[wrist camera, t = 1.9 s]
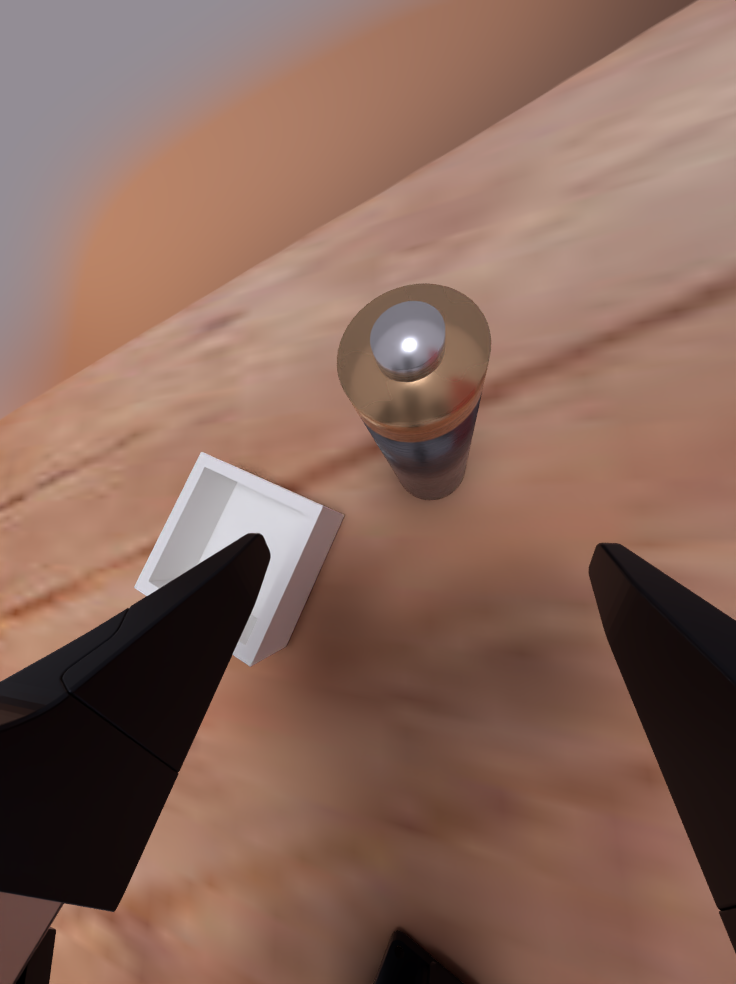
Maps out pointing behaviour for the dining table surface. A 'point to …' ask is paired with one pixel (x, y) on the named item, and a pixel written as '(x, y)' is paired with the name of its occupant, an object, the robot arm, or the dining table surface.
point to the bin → (229, 516)
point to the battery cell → (418, 381)
